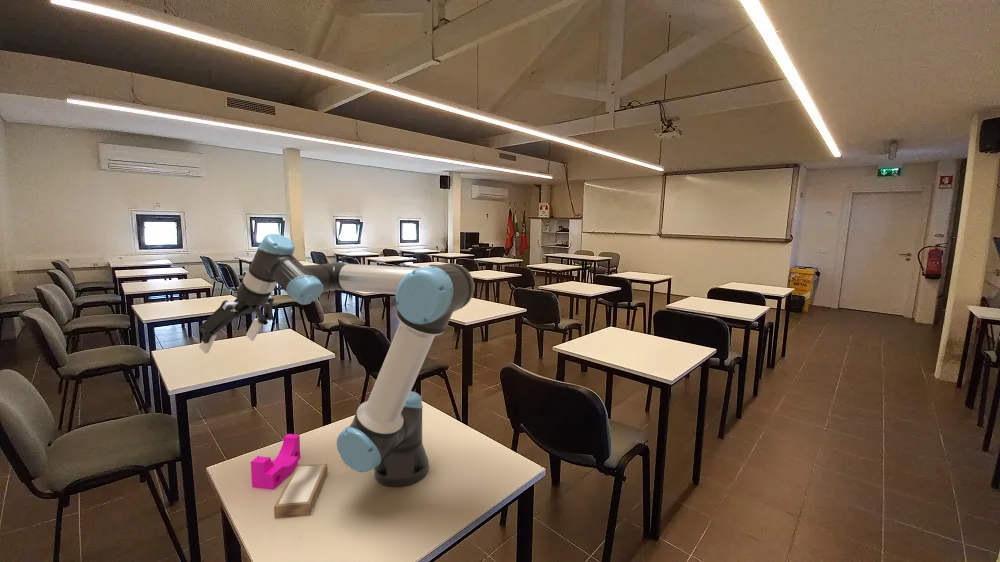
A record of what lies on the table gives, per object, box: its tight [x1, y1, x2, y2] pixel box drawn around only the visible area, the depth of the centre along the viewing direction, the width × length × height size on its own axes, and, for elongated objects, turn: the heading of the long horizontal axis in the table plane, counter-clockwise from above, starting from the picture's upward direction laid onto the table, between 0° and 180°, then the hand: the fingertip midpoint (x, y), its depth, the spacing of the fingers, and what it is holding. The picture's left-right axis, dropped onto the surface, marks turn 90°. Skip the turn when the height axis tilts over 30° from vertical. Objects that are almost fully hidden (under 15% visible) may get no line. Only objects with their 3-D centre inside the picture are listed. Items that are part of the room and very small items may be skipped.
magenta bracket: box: [250, 433, 301, 491], centre depth 115 cm, size 15×6×8 cm, turn 171°
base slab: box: [273, 463, 329, 519], centre depth 106 cm, size 8×17×3 cm, turn 10°
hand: (227, 343), depth 116 cm, fingers open, 13 cm apart
